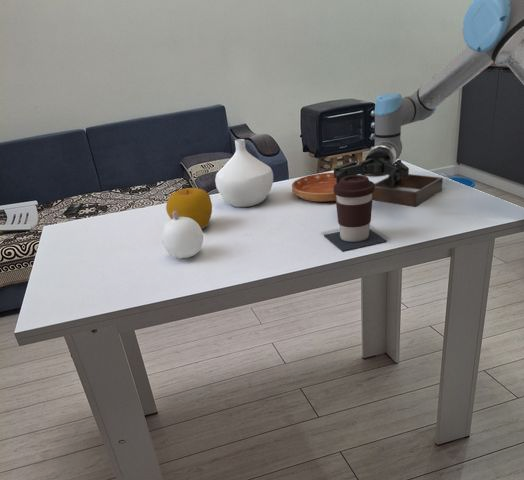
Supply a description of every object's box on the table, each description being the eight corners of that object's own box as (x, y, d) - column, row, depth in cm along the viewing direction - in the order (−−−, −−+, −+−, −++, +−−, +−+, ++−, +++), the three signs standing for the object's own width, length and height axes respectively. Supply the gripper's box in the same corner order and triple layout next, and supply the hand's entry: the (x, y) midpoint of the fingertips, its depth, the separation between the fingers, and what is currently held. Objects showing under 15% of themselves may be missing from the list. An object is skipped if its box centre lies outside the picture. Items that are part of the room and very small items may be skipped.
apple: (212, 234, 151) (205, 194, 145) (167, 238, 152) (159, 198, 146) (218, 219, 162) (212, 181, 156) (176, 222, 163) (168, 185, 157)
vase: (231, 193, 183) (223, 134, 173) (282, 193, 177) (277, 132, 166) (209, 211, 169) (199, 148, 158) (264, 212, 163) (257, 146, 152)
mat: (365, 227, 144) (365, 225, 144) (386, 242, 134) (387, 240, 134) (324, 236, 142) (324, 234, 141) (342, 251, 132) (342, 250, 132)
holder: (441, 191, 162) (442, 177, 160) (415, 206, 153) (416, 192, 151) (395, 185, 172) (396, 172, 170) (369, 199, 163) (369, 186, 161)
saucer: (340, 178, 184) (340, 167, 182) (378, 194, 166) (379, 182, 164) (280, 192, 178) (279, 181, 176) (313, 210, 159) (313, 198, 157)
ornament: (158, 259, 140) (148, 215, 133) (187, 246, 146) (178, 202, 139) (185, 267, 134) (176, 221, 127) (213, 252, 140) (206, 207, 133)
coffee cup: (352, 248, 132) (351, 187, 124) (327, 237, 139) (325, 179, 131) (382, 237, 136) (383, 177, 128) (356, 227, 143) (356, 170, 135)
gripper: (424, 172, 152) (412, 196, 136) (338, 173, 161) (317, 195, 145) (426, 145, 148) (413, 166, 132) (338, 147, 157) (316, 166, 141)
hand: (363, 181), depth 138 cm, fingers open, 13 cm apart
